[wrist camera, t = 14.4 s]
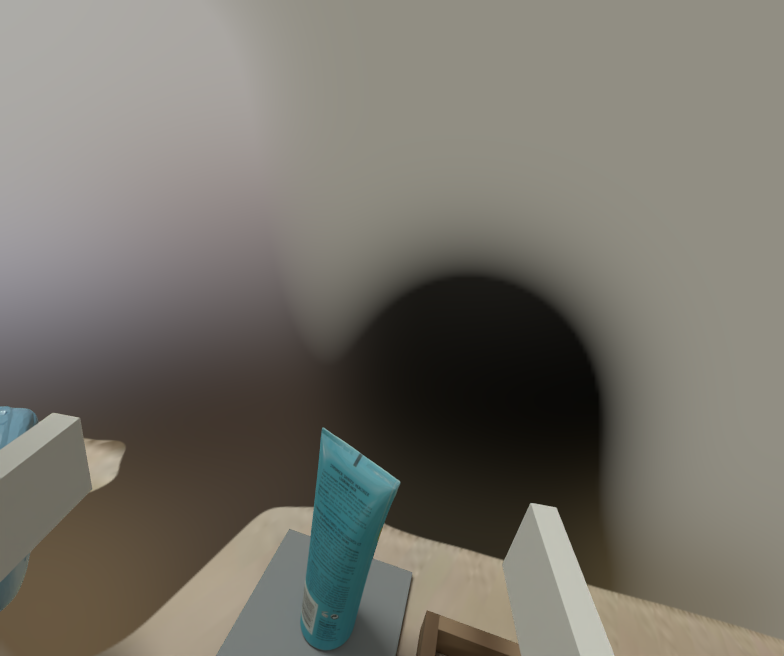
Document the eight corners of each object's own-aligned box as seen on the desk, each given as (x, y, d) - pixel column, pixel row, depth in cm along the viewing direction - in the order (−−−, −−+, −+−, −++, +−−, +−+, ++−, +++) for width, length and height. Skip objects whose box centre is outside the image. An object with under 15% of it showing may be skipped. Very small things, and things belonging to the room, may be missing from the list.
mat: (204, 680, 30) (204, 676, 30) (289, 532, 43) (289, 528, 43) (375, 754, 28) (376, 750, 28) (411, 576, 41) (412, 572, 41)
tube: (375, 624, 36) (418, 461, 28) (342, 676, 32) (381, 503, 24) (314, 574, 39) (338, 416, 31) (277, 615, 35) (294, 446, 28)
